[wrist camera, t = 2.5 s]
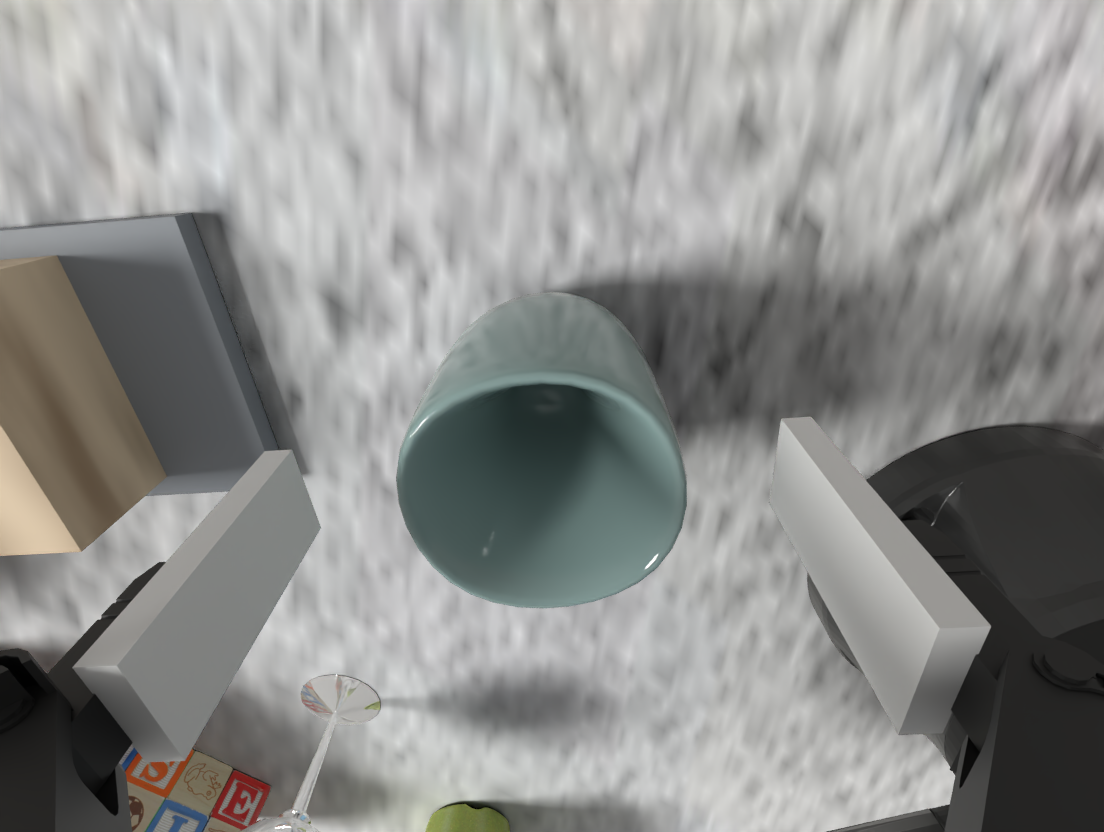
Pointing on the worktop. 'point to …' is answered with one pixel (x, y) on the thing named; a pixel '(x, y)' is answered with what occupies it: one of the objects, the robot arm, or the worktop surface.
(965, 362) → the worktop surface
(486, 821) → the plant pot
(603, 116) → the worktop surface
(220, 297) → the base board
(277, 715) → the worktop surface
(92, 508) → the oak riser
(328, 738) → the wineglass
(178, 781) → the stack of blocks
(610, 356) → the cup
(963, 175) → the worktop surface
